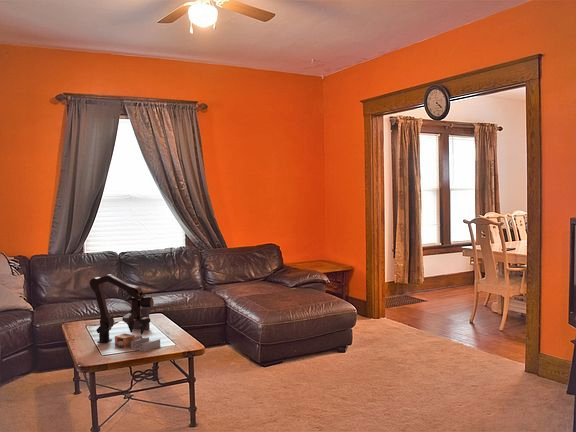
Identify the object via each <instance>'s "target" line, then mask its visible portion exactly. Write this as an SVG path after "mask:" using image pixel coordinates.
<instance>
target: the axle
mask: <svg viewBox="0 0 576 432" xmlns="http://www.w3.org/2000/svg"><path fill="white" fill-rule="evenodd" d="M141 338H144V337H143V335H141V334H140V335H135V340H138V339H141ZM116 347H117V348H119V349H123V340H122V341H118V342H117V346H116Z"/></svg>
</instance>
